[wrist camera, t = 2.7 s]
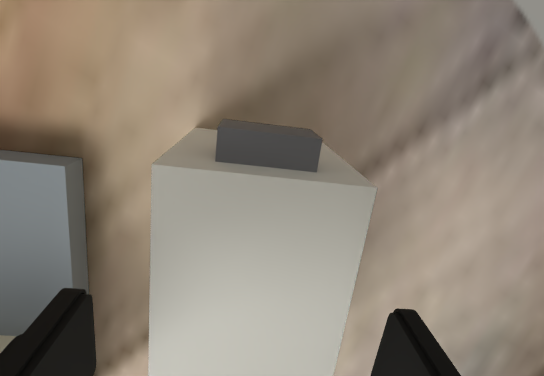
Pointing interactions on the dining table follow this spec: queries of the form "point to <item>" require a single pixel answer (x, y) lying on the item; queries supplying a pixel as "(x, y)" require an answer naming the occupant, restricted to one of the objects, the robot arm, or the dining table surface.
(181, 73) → the dining table surface
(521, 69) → the dining table surface
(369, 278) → the dining table surface
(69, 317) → the robot arm
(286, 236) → the cream rectangular block
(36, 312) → the cleat board
